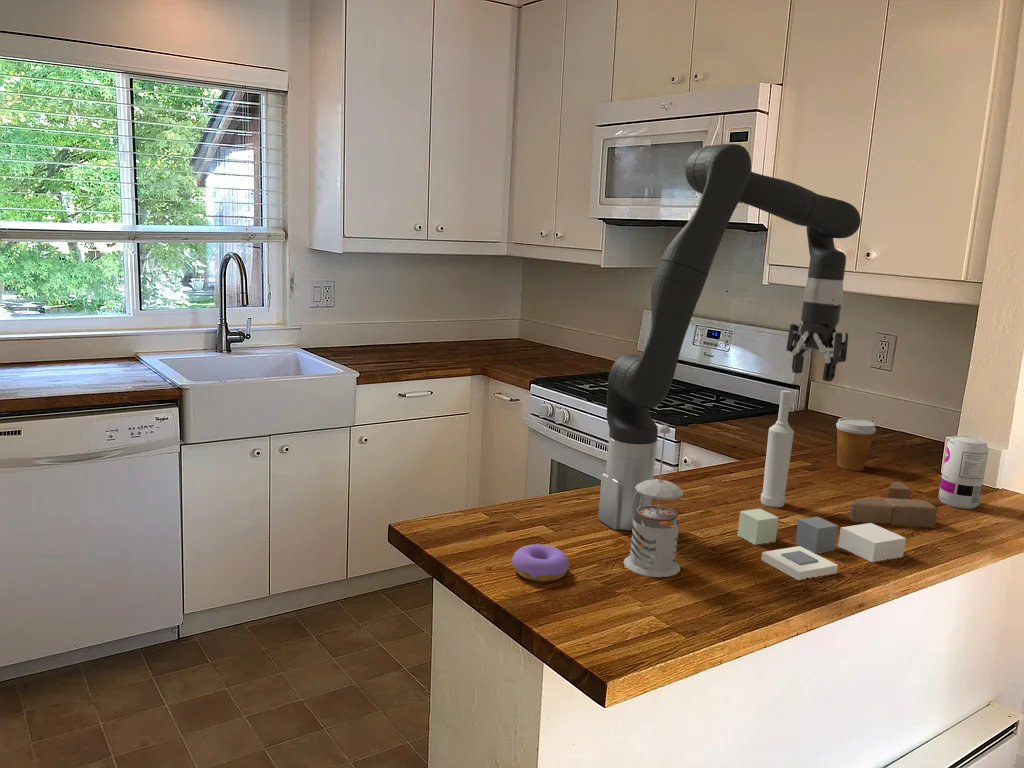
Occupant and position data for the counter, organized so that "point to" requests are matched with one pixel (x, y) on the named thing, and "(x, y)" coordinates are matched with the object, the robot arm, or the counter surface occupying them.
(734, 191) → the robot arm
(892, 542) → the base block
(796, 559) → the plate
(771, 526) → the sage cube
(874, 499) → the wooden block set
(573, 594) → the counter surface
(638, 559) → the french press
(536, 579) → the donut
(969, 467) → the supplement can
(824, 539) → the slate cube
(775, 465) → the bottle
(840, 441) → the disposable coffee cup
